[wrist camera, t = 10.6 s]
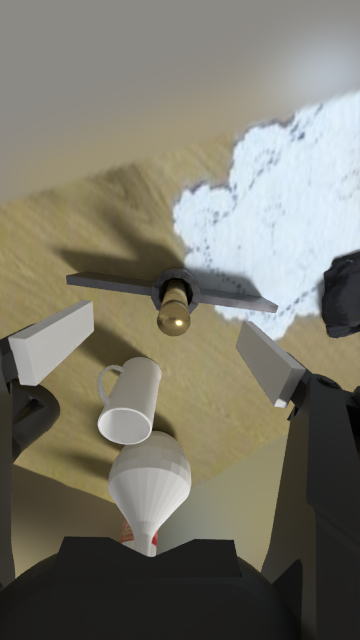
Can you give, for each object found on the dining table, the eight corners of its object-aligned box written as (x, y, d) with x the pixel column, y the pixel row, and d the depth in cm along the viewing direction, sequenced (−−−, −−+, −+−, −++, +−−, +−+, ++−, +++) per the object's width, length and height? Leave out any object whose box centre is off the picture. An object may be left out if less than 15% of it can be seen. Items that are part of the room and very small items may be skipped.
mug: (102, 357, 34) (66, 407, 23) (135, 337, 32) (112, 382, 21) (138, 393, 38) (121, 452, 27) (169, 377, 36) (164, 433, 25)
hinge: (86, 295, 29) (69, 303, 25) (83, 253, 27) (63, 253, 22) (255, 318, 31) (269, 330, 26) (268, 281, 28) (285, 286, 24)
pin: (166, 295, 29) (155, 334, 15) (168, 278, 28) (158, 303, 14) (183, 297, 29) (187, 338, 16) (186, 280, 28) (193, 308, 14)
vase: (110, 424, 42) (60, 551, 24) (181, 413, 40) (183, 539, 23) (133, 466, 49) (107, 589, 31) (194, 458, 47) (204, 581, 30)
